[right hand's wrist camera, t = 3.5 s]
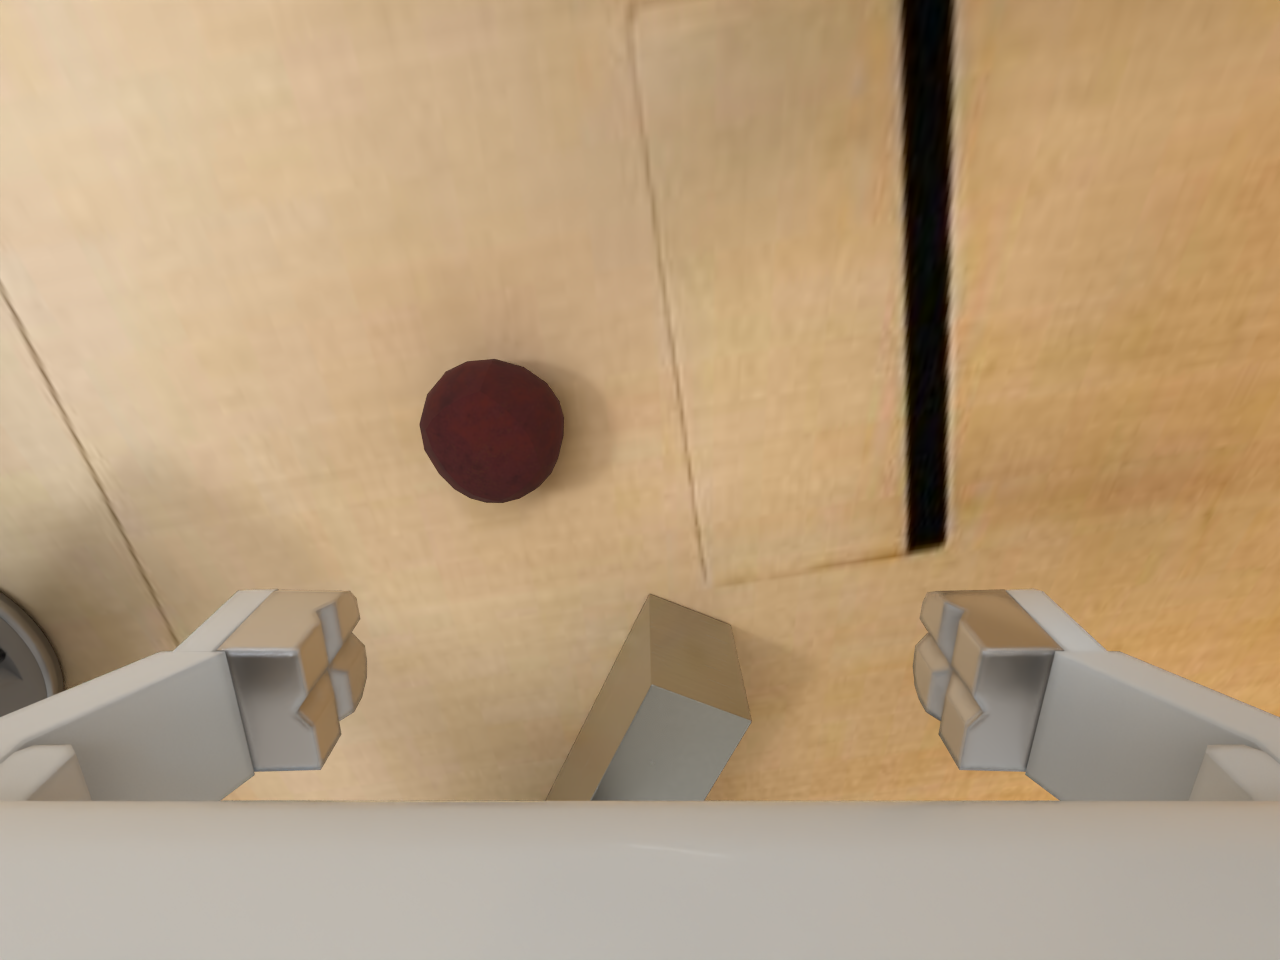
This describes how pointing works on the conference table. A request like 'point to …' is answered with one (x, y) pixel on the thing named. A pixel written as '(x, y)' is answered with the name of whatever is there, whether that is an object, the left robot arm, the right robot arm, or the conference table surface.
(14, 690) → the left robot arm
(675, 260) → the conference table surface
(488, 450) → the dark red ball
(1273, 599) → the conference table surface
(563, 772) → the bar
